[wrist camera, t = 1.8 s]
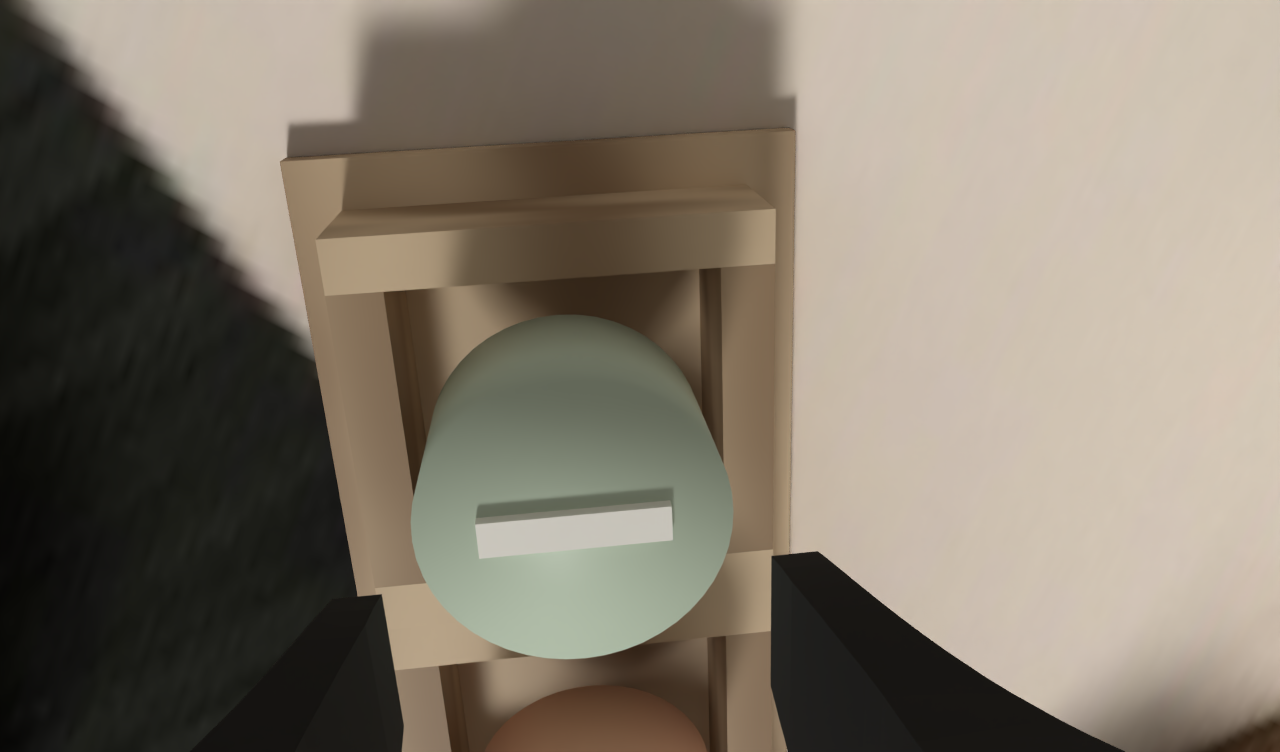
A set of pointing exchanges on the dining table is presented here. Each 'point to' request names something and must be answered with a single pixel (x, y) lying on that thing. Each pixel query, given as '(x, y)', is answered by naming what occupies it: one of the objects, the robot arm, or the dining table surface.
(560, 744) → the terracotta button
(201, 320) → the dining table surface
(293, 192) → the wooden compartment tray
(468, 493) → the sage button
